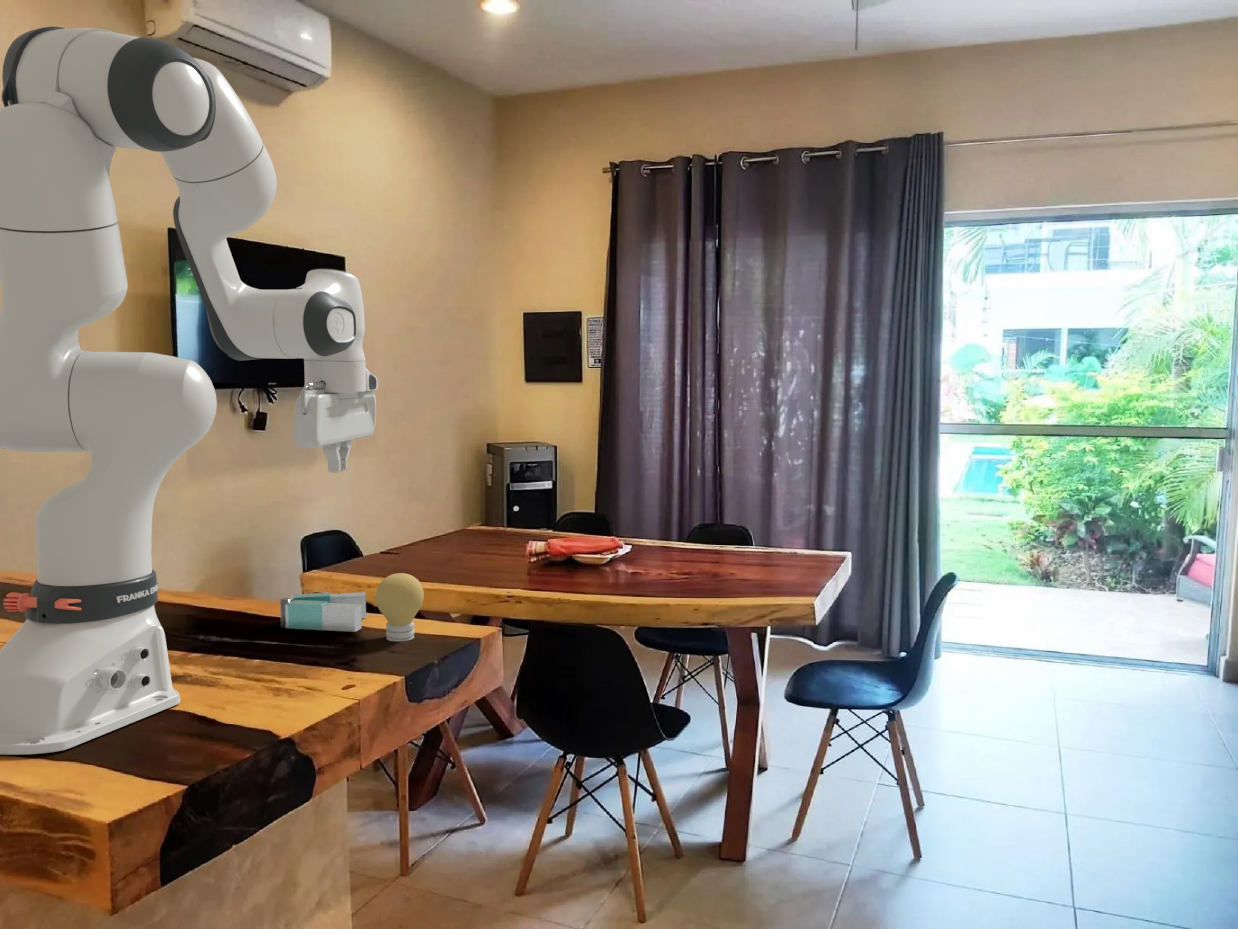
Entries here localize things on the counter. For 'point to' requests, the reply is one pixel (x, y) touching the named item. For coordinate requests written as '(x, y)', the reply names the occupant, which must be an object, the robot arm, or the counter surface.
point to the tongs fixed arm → (320, 615)
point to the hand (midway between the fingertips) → (337, 471)
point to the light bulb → (399, 604)
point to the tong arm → (336, 599)
